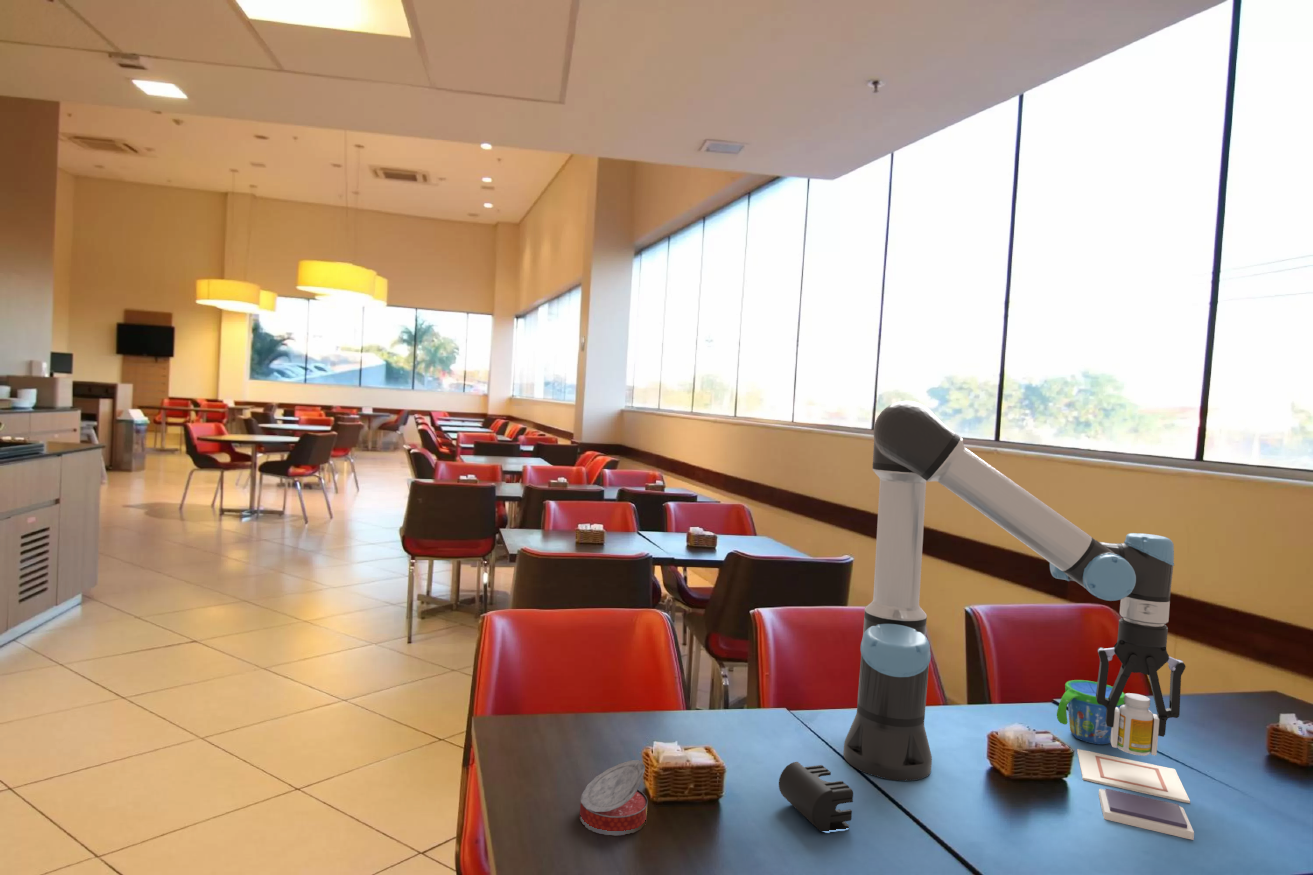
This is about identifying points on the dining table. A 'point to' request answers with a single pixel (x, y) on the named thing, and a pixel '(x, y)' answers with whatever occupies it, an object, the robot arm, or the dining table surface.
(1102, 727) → the snack cup
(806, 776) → the end cap
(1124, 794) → the ink pad
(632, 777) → the canned food
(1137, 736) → the supplement bottle
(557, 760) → the dining table surface
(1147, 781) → the cream flat board
